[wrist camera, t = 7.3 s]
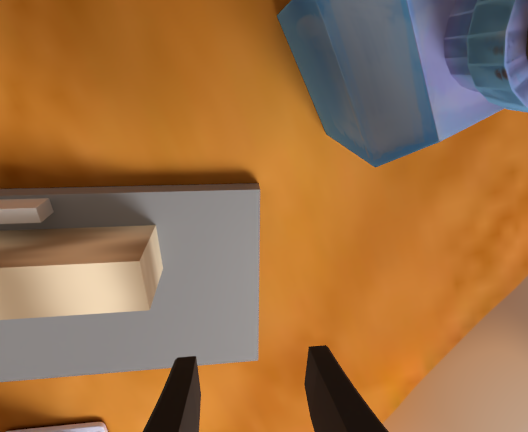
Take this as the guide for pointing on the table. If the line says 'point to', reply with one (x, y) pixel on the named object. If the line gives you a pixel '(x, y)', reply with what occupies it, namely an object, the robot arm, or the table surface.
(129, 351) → the board
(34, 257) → the slat
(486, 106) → the perfume bottle
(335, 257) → the table surface
